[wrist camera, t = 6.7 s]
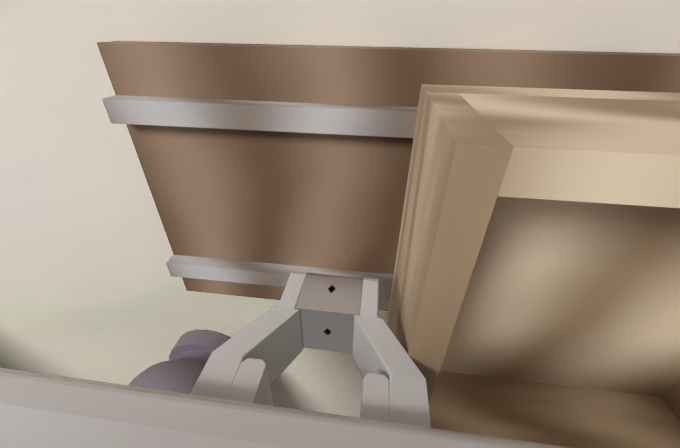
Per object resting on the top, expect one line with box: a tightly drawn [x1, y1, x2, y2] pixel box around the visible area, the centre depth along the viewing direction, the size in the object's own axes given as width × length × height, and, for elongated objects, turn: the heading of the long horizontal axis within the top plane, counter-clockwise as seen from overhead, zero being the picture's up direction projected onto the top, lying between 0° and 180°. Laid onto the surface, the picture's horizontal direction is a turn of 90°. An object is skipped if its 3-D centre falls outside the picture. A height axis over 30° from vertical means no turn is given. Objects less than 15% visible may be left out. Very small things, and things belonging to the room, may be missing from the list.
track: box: [97, 41, 680, 311], centre depth 15 cm, size 24×14×2 cm, turn 89°
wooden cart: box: [387, 84, 680, 448], centre depth 11 cm, size 13×13×8 cm
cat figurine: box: [128, 330, 230, 394], centre depth 21 cm, size 8×8×12 cm
